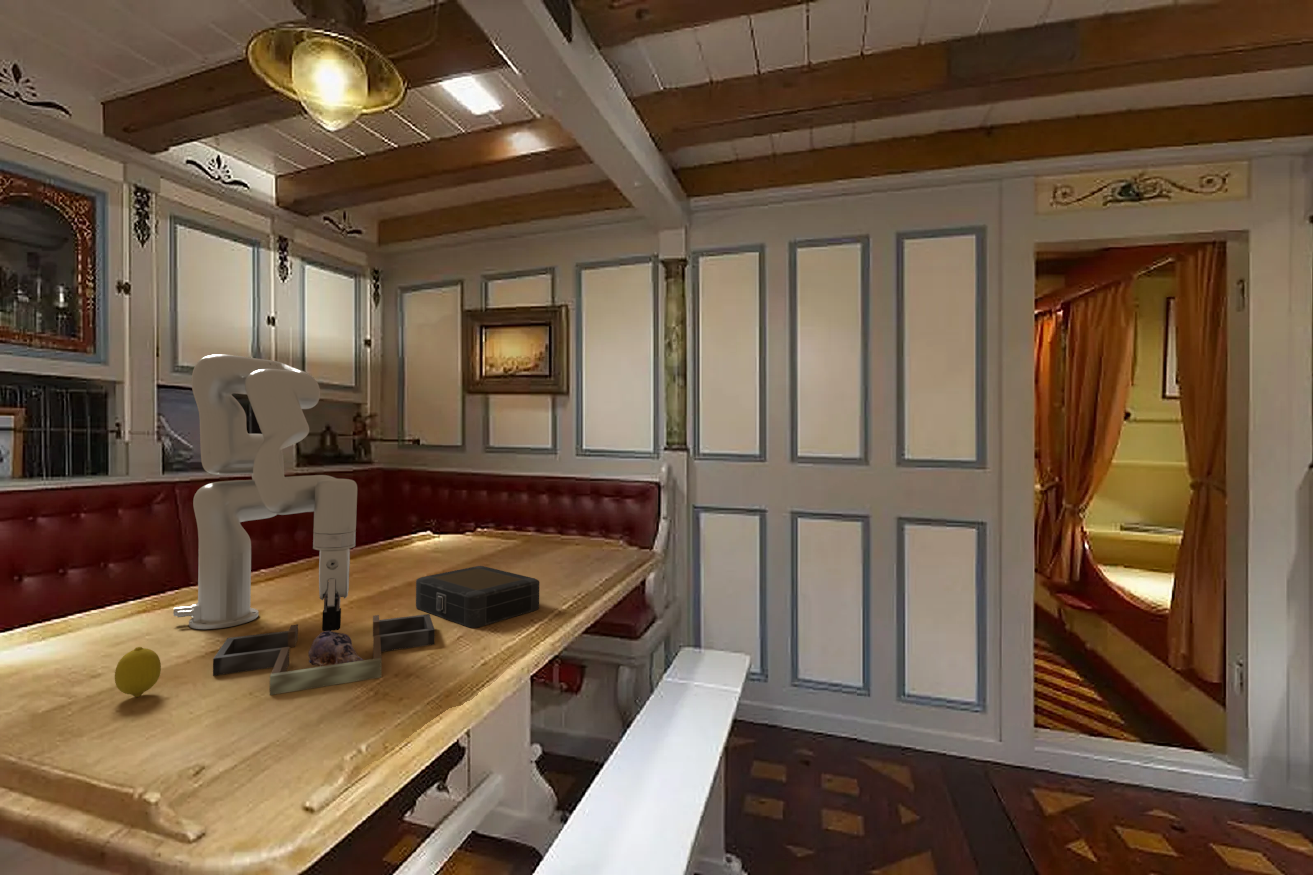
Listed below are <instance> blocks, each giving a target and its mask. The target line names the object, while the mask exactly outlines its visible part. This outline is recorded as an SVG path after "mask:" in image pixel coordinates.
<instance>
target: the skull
mask: <svg viewBox="0 0 1313 875" xmlns="http://www.w3.org/2000/svg"><path fill="white" fill-rule="evenodd" d="M308 658H309V660H308V663H309V664H311V666H318V667H322V666H328V665H335V664H342V663H349V662H356V661H363V660H364V659H363V658H362V657H361V656H360V655H358V653H357V652H356V650H355V648H354V647H353V642H352V638H351V637H350V636H349V635H348V634H347V633H341V632H336V631H325V632H323V631H322V632H320V633H319V634H318V635H317V636H316V637H315V638H314V639H313V641H312V642H311V646H310V648H309V650H308Z"/></svg>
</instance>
